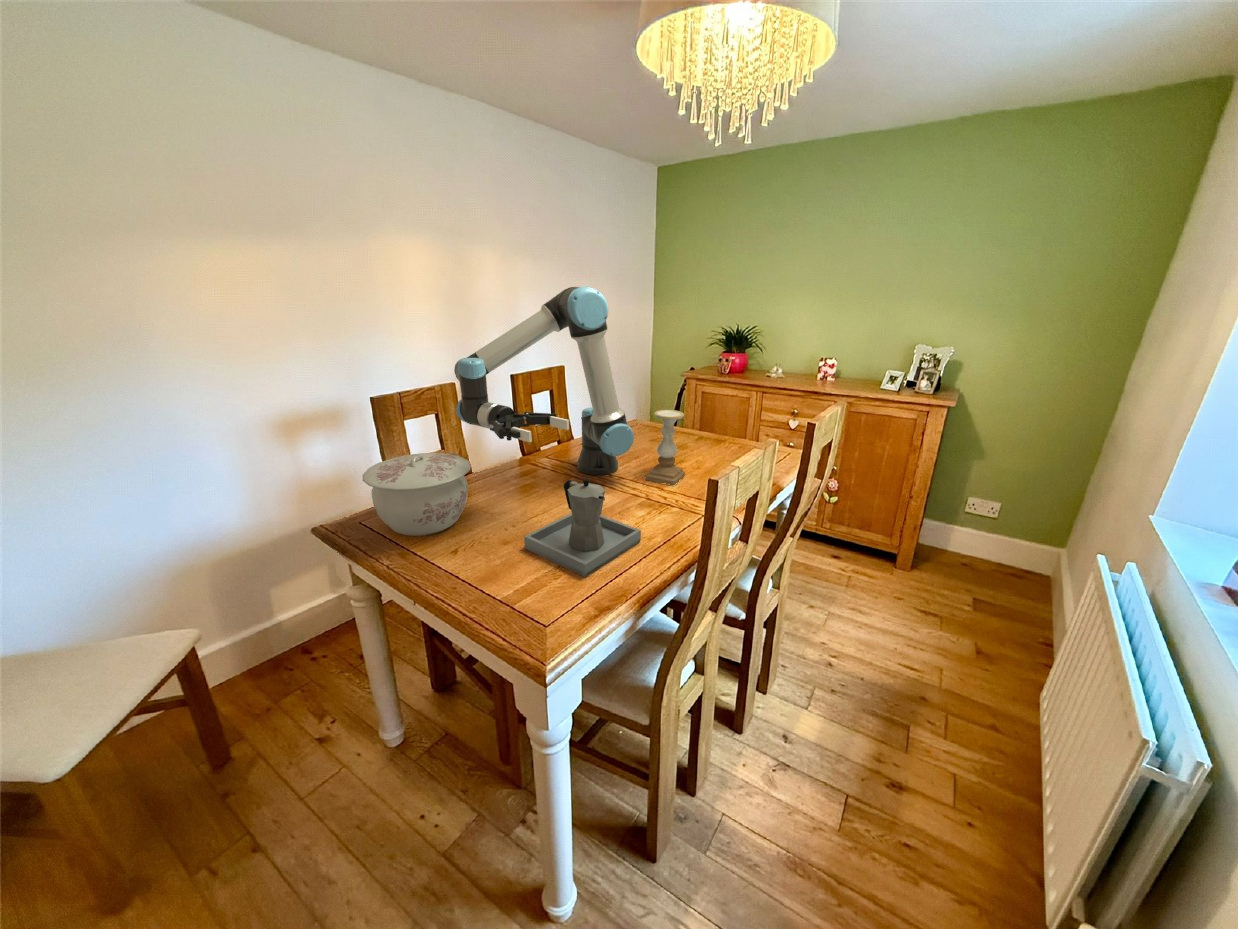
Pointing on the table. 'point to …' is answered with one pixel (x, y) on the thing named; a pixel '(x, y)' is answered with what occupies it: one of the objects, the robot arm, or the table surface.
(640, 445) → the table surface
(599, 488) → the coffeepot
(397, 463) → the chamber pot
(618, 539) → the charcoal dish
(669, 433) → the candle holder
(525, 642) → the table surface
